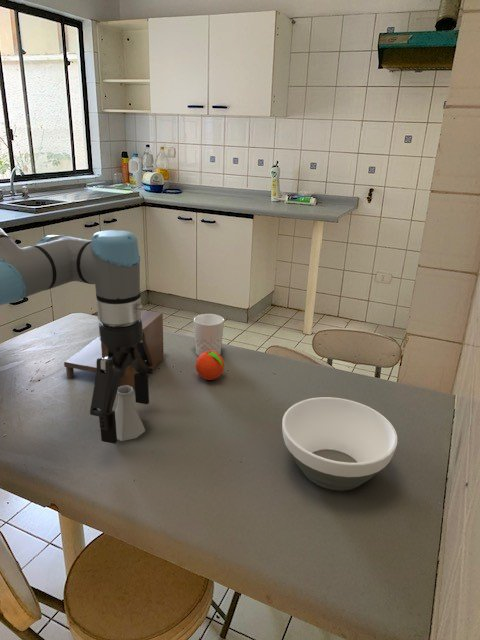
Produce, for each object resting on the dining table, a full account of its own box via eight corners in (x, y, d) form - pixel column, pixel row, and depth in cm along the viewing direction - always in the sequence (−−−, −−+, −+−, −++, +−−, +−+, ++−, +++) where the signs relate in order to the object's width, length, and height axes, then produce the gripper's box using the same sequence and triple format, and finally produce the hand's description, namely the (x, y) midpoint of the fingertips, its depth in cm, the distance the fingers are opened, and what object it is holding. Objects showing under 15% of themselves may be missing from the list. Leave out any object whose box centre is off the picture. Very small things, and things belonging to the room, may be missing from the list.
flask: (101, 431, 91) (98, 387, 88) (134, 418, 96) (132, 376, 92) (119, 449, 87) (116, 404, 83) (153, 435, 91) (151, 391, 87)
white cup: (222, 360, 122) (223, 325, 118) (192, 359, 122) (192, 324, 118) (223, 347, 129) (224, 314, 125) (195, 346, 129) (195, 313, 125)
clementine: (232, 380, 113) (234, 353, 110) (212, 390, 108) (212, 362, 105) (210, 368, 118) (211, 343, 115) (189, 377, 113) (189, 351, 110)
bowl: (408, 474, 84) (418, 430, 80) (348, 532, 71) (356, 483, 67) (321, 426, 96) (326, 386, 93) (256, 468, 83) (258, 423, 80)
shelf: (66, 381, 109) (60, 330, 104) (105, 349, 125) (101, 304, 120) (132, 393, 105) (129, 341, 100) (163, 358, 121) (162, 312, 116)
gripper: (103, 352, 70) (112, 465, 78) (167, 300, 93) (169, 391, 101) (59, 345, 72) (73, 456, 80) (133, 295, 94) (138, 386, 102)
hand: (127, 420), depth 90 cm, fingers open, 13 cm apart
